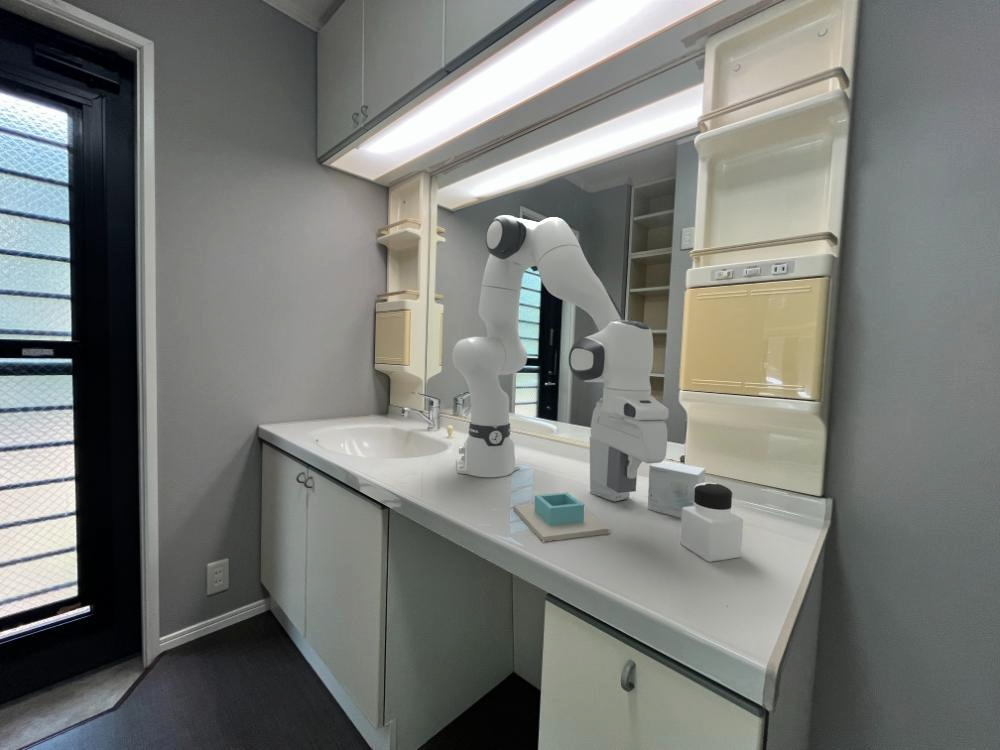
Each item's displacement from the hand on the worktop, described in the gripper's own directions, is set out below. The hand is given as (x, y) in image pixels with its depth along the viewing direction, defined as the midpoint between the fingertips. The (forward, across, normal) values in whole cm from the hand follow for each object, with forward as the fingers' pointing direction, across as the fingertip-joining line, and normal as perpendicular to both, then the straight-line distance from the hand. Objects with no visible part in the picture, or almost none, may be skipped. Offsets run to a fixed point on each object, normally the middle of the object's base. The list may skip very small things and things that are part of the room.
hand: (621, 472), depth 82 cm
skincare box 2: (+12, -6, +18) cm, 23 cm away
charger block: (+3, 0, 0) cm, 3 cm away
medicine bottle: (+12, +12, +11) cm, 20 cm away
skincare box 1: (+12, -18, +9) cm, 24 cm away
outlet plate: (+12, -7, -10) cm, 17 cm away
